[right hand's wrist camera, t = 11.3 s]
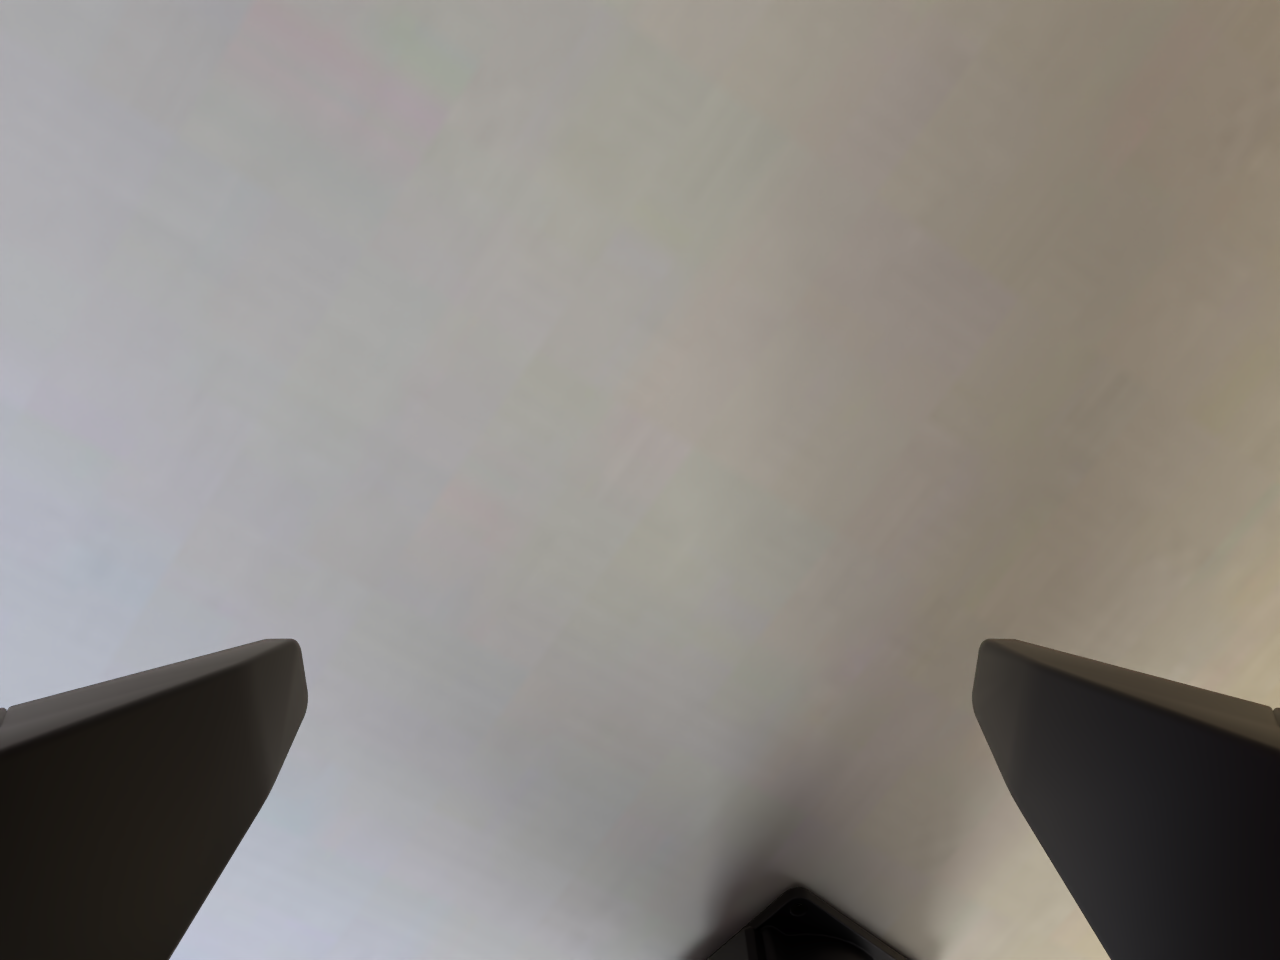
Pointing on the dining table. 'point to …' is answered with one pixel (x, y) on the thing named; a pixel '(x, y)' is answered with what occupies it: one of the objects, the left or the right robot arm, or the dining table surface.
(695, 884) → the dining table surface
